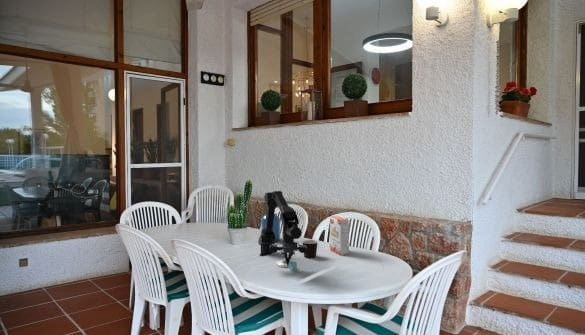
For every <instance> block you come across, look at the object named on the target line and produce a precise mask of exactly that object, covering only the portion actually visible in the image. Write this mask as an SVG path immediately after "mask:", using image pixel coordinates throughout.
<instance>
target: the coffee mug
mask: <svg viewBox="0 0 585 335" xmlns="http://www.w3.org/2000/svg"><path fill="white" fill-rule="evenodd" d="M318 243H319V242H318V240H315V239H304V240H303V241H302V245H306V247H307V253H303V257H304V258H305V259H316V257H317V250H318Z"/></svg>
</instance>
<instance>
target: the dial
mask: <svg viewBox="0 0 585 335" xmlns="http://www.w3.org/2000/svg"><path fill="white" fill-rule="evenodd" d="M297 264H298V262H296V261H295V260H294V259H292V258H291V259H290V262H289V265H288V266H287V263H286V259H285V258H282V259H281V260H277V261H276V263H275V266H277V267H278V268H288V269H289V270H291V271H293V272H294V271H297V270H298V269H297V268H298V267H297Z"/></svg>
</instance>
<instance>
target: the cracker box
mask: <svg viewBox="0 0 585 335" xmlns="http://www.w3.org/2000/svg"><path fill="white" fill-rule="evenodd" d="M349 221H350V220H349V219H346V218H344V217H341V216H338V215H335V216H334V215H333V216H329V232H330V233H329V243H330V244H329V248H330V251H332V252H334V253H336V254H338V255H339V256H347V255H350V242H349V241H350V237H349V236H350V231H349V230H350V228H349V227H350V226H349V225H350V222H349Z"/></svg>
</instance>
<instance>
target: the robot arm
mask: <svg viewBox="0 0 585 335" xmlns="http://www.w3.org/2000/svg"><path fill="white" fill-rule="evenodd" d="M263 197H264V202H265V204H266V212H265V215H266V220H265V228H264V229H263V230H262V231H261V232H260V235H259V237H258V241H257V242H258V245H259V246H260V253H259V256H262V257H263V256H264V257H265V256H269V255H273V254H275V253H277V252H278V251H279V252H280V253H281V255H283V257H284V259H286V263H287V266H288V265H289V262H290V259H291V260H292V257H293V255H296V252H297V251H298V252H300V253H301V254H304V253H307V247H306V245H303V244H298V242H295V240H298V239H301V237H302V233H303V232H302V230H301V228H300V227H299V225H300V223H299V222H300V220H299V216H298V214H297V211H295V209H294V208H293V207H292V206H289V204H288V202H287V201H286V198H285V197H284V195H283V192H282V191H281V190H277V191H276V190H273V191H271V192H266V193H265V194H264V196H263ZM277 207H278V209H279V211H280V215H279V218H280V222H281V225H282V246H278V244H275V234H274V232H273V222H274V214H275V212H276V208H277ZM275 215H276V214H275Z"/></svg>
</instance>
